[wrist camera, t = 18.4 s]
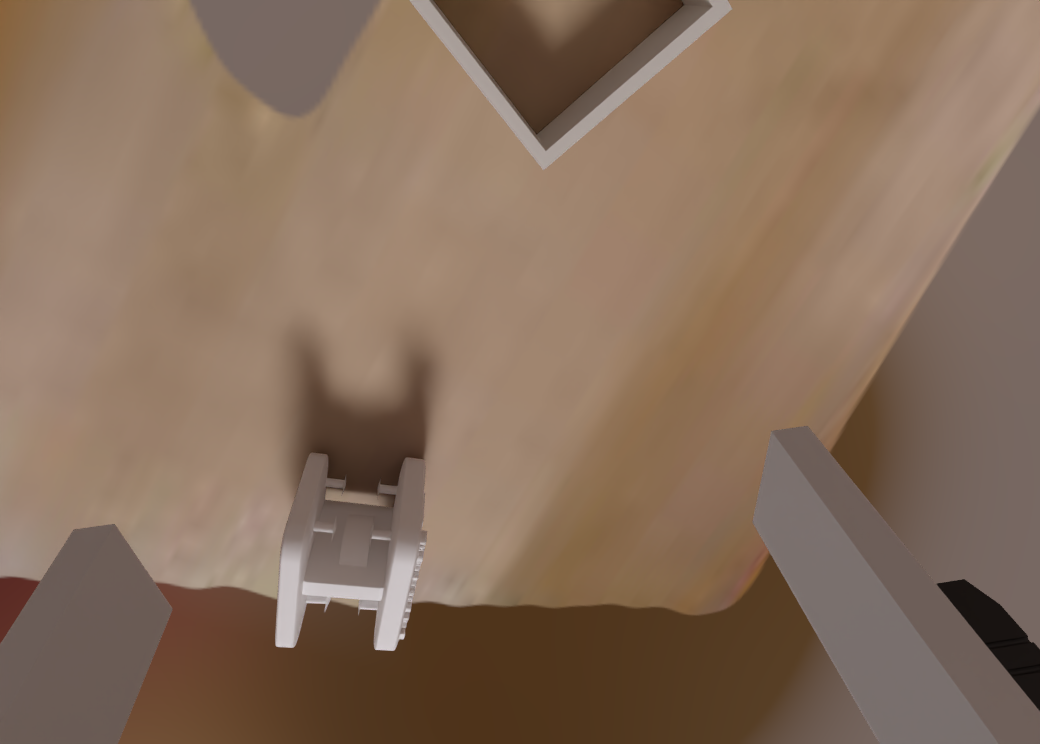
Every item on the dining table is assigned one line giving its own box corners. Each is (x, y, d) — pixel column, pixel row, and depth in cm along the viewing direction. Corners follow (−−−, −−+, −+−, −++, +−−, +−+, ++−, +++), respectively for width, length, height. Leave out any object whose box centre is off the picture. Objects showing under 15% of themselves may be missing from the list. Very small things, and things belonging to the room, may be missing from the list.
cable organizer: (312, 430, 52) (278, 531, 42) (432, 447, 54) (427, 546, 45) (302, 548, 60) (271, 657, 50) (408, 558, 62) (399, 664, 52)
